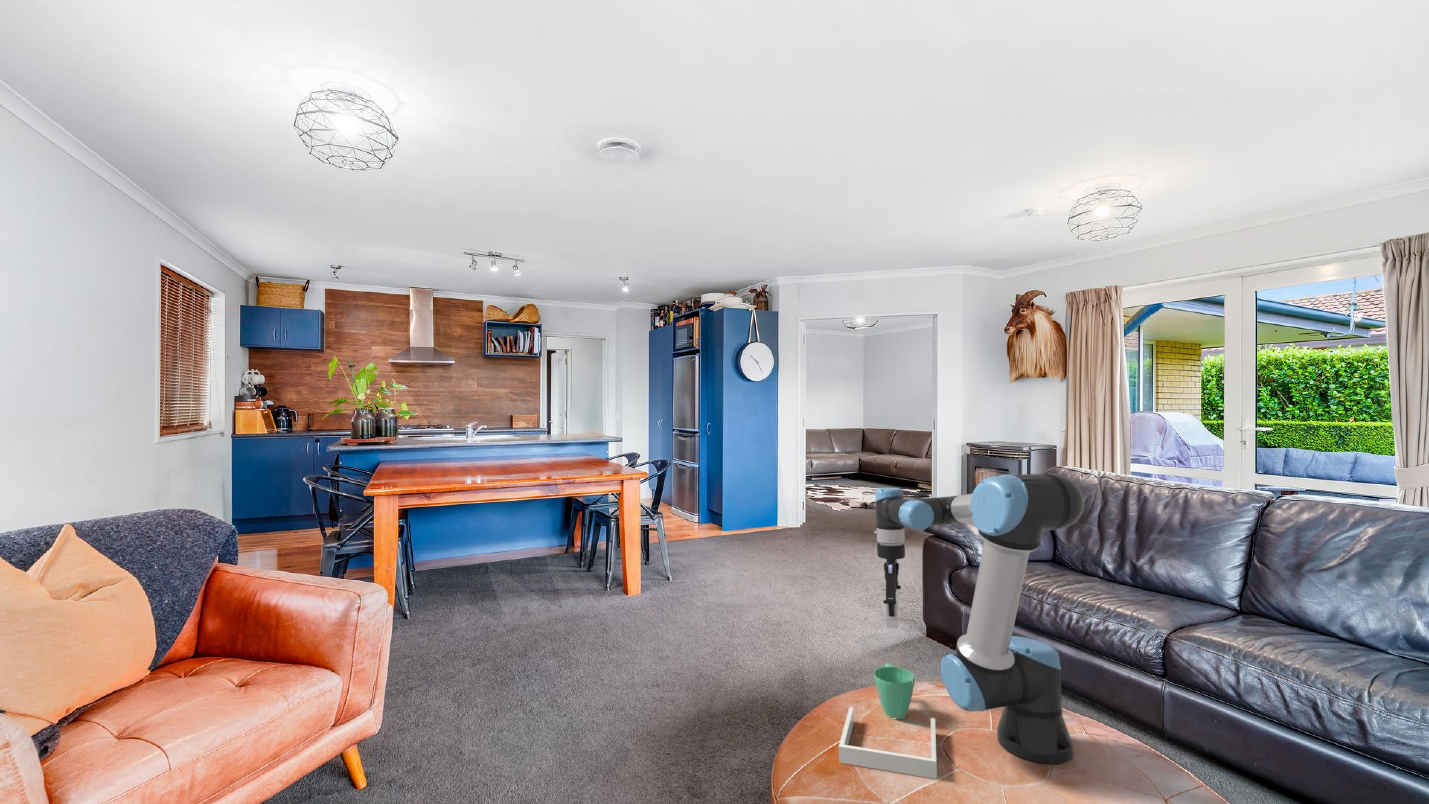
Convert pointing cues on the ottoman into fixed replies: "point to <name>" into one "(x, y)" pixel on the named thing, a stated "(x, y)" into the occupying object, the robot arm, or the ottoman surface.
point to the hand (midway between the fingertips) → (893, 620)
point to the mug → (894, 690)
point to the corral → (886, 755)
